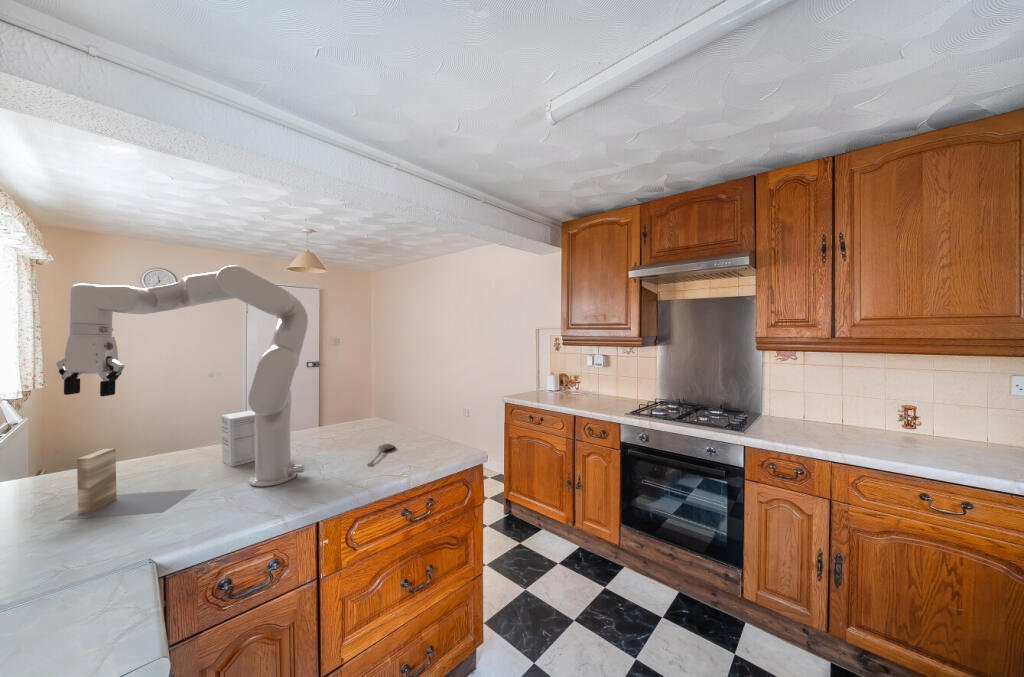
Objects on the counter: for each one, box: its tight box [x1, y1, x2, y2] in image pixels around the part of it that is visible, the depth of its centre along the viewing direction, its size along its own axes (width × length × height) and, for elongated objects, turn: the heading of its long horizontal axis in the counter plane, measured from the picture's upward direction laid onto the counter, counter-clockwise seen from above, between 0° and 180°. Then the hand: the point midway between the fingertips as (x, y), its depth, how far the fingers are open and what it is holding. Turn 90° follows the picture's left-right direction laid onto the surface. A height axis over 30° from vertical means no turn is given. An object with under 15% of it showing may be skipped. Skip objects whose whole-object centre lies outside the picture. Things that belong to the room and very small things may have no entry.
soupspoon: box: [367, 443, 396, 467], centre depth 141 cm, size 22×3×7 cm
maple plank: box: [76, 447, 117, 514], centre depth 99 cm, size 3×8×14 cm, turn 12°
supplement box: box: [220, 410, 255, 468], centre depth 134 cm, size 10×9×17 cm
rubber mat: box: [57, 488, 198, 521], centre depth 100 cm, size 22×14×1 cm, turn 101°
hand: (89, 394), depth 100 cm, fingers open, 9 cm apart
